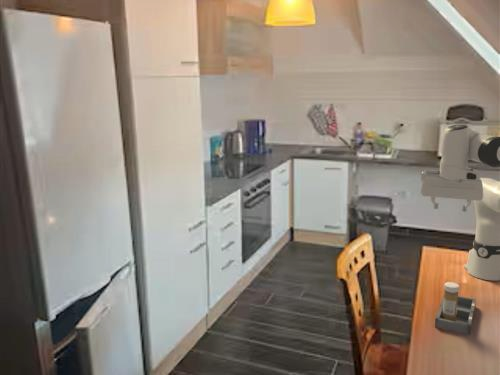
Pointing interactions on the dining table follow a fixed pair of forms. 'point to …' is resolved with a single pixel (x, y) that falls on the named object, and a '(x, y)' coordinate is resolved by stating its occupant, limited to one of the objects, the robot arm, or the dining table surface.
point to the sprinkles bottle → (450, 301)
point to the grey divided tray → (458, 316)
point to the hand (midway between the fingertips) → (450, 209)
